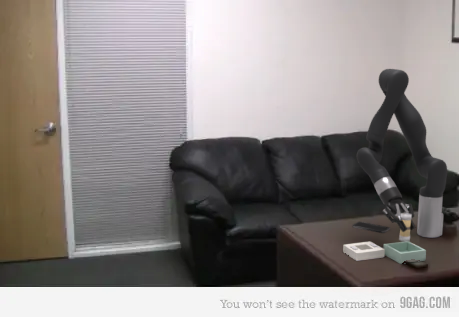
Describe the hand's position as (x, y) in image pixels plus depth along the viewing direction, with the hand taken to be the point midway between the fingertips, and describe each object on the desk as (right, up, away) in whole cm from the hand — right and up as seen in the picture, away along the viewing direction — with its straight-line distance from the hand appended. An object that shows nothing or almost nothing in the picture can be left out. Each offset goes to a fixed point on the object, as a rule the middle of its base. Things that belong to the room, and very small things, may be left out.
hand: (409, 229), depth 212 cm
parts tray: (-1, -11, +4) cm, 12 cm away
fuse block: (-15, -10, +7) cm, 20 cm away
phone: (-4, -5, +40) cm, 40 cm away
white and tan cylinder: (-1, -4, +2) cm, 5 cm away
